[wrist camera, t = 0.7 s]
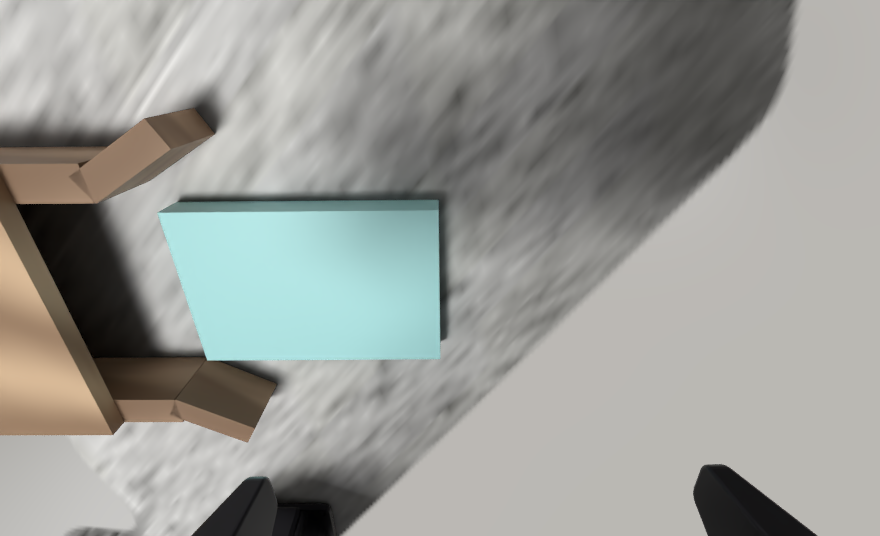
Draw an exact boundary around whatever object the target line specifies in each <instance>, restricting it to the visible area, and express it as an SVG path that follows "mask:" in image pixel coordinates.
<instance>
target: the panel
mask: <svg viewBox="0 0 880 536" xmlns="http://www.w3.org/2000/svg"><path fill="white" fill-rule="evenodd" d="M158 216H159V219H160V222H161V225H162V228H163V231H164V234H165V237H166V240H167V243H168V246H169V249H170V252H171V255H172V258H173V261H174V264H175V267H176V269H177V272H178V275H179V278H180V281H181V284H182V287H183V290H184V293H185V296H186V299H187V302H188V305H189V308H190V311H191V314H192V317H193V320H194V323H195V326H196V329H197V332H198V335H199V337H200V340H201V343H202V346H203V349H204V352H205V355H206V358H207V361H208V360H370V359H440V275H439V200H339V201H219V202H176V203H174V204H172V205H171V206H169V207H167V208H165V209H163V210H161V211H160V212H158Z"/></svg>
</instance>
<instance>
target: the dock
mask: <svg viewBox="0 0 880 536" xmlns="http://www.w3.org/2000/svg"><path fill="white" fill-rule="evenodd" d="M214 134H215V133H214V132H213V131H212V130H211V128H210V127H209V126H208V125H207V124H206V122H205V121H204V120H203V119H202V117H201V116H200V115H199V114H198V112H197V111H196V110H195V109H194V108H192V109H187V110H182V111H177V112H173V113H168V114H163V115H159V116H154V117H149V118H144V119H143V120H142V121H140V122H139V123H138V124H137V125H135V126H134V127H133V128H131V129H130V130H129V131H127V132H126V133H125V134H124V135H122V136H121V137H120V138H118V139H117V140H116V141H115V142H113V143H112V144H111V145H109V146H98V147H0V435H113V434H114V433H115V432H116V431H117V430H118V429H119V427H120V426H121V425H122V424H123V423H124V422H183V421H184V420H185V421H188V422H191V423H194V424H197V425H199V426H202V427H205V428H208V429H211V430H213V431H216V432H219V433H222V434H225V435H228V436H230V437H233V438H236V439H239V440H242V441H244V442H247V443H248V441H249V439H250V437H251V435H252V433H253V431H254V429H255V427H256V425H257V423H258V421H259V419H260V417H261V415H262V413H263V411H264V409H265V407H266V405H267V403H268V401H269V399H270V397H271V395H272V393H273V391H274V389H275V387H276V385H277V384H276V383H273V382H271V381H268V380H266V379H263V378H260V377H258V376H255V375H253V374H250V373H248V372H245V371H243V370H240V369H238V368H235V367H233V366H230V365H227V364H225V363H222V362H220V361H217V360H208V361H207V358H206V357H151V358H92V357H91V355H90V353H89V351H88V349H87V347H86V345H85V343H84V341H83V339H82V337H81V335H80V333H79V331H78V329H77V327H76V325H75V323H74V321H73V319H72V317H71V315H70V313H69V310H68V308H67V306H66V304H65V302H64V300H63V298H62V296H61V294H60V292H59V290H58V288H57V286H56V284H55V282H54V280H53V278H52V276H51V274H50V272H49V270H48V268H47V266H46V264H45V262H44V260H43V258H42V256H41V254H40V252H39V250H38V248H37V246H36V244H35V242H34V240H33V238H32V236H31V234H30V232H29V230H28V228H27V226H26V224H25V222H24V220H23V218H22V216H21V214H20V212H19V210H18V208H17V206H16V204H83V203H96V204H97V203H99V202H102V201H104V200H106V199H109V198H111V197H113V196H116V195H118V194H120V193H123V192H125V191H127V190H130V189H132V188H134V187H137V186H139V185H141V184H144V183H146V182H148V181H150V180H151V179H153V178H154V177H156V176H157V175H158V174H160V173H161V172H163V171H164V170H165V169H167V168H168V167H170V166H171V165H172V164H174V163H175V162H177V161H178V160H179V159H181V158H182V157H184V156H185V155H186V154H188V153H189V152H191V151H192V150H193V149H195V148H196V147H197V146H199V145H200V144H202V143H203V142H204V141H206V140H207V139H209V138H210V137H211V136H213V135H214Z"/></svg>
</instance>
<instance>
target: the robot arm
mask: <svg viewBox="0 0 880 536" xmlns="http://www.w3.org/2000/svg"><path fill="white" fill-rule="evenodd" d="M693 495H694V501H695V504H696V506H697V509H698V511H699V514H700V517H701V519H702V521H703V524H704V527H705V529H706V532H707V535H708V536H817V535H816V534H815V533H813V532H812V531H811V530H810V529H808V528H807V527H806V526H804V525H803V524H802V523H800V522H799V521H798V520H797V519H795V518H794V517H793V516H791V515H790V514H789V513H788V512H786V511H785V510H784V509H782V508H781V507H780V506H779V505H777V504H776V503H775V502H773V501H772V500H771V499H769V498H768V497H767V496H765V495H764V494H763V493H762V492H760V491H759V490H758V489H757V488H755V487H754V486H753V485H751V484H750V483H749V482H748V481H746V480H745V479H744V478H742V477H741V476H740V475H739V474H737V473H736V472H735V471H733V470H732V469H731V468H729V467H727V466H725V465H722V464H713V465H704V466H703V467H702V468H701V470H700V473H699V476H698V478H697V481H696V484H695V486H694V491H693ZM192 536H337V535H336V530H335V525H334V520H333V516H332V511H331V507H330V506H329V505H326V504H277V499H276V496H275V494H274V491H273V488H272V485H271V482H270V480H269V478H267V477H249V478H247V479H246V480H244V481H243V482H242V483H241V484H240V485H239V486H238V487H237V489H236V490H235V491H234V492H233V493H232V494H231V495H230V496H229V497H228V498H227V499H226V500H225V501H224V502H223V503H222V504H221V505H220V506H219V507H218V508H217V509H216V510H215V512H214V513H213V514H212V515H211V516H210V517H209V518H208V519H207V520H206V521H205V522H204V523H203V524H202V525H201V526H200V527H199V528H198V529H197V530H196V531H195V532H194V533H193V535H192Z"/></svg>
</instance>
